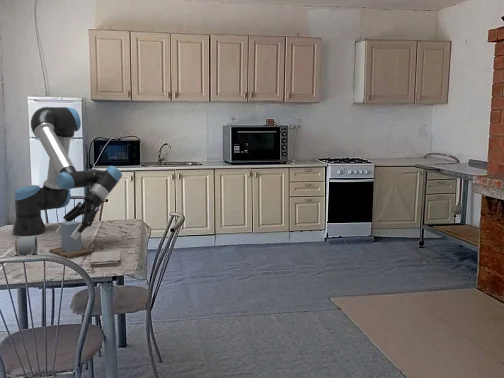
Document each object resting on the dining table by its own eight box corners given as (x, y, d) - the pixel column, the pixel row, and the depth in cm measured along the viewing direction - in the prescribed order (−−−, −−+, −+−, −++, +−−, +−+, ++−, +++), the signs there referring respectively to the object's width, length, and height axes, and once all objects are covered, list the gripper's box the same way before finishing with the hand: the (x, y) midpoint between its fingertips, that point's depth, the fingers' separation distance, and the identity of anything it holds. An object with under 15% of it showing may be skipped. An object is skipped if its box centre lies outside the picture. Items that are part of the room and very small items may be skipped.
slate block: (61, 250, 225) (60, 222, 223) (74, 247, 229) (73, 220, 228) (68, 252, 221) (67, 224, 219) (81, 250, 225) (80, 222, 224)
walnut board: (49, 252, 226) (49, 249, 226) (74, 247, 235) (74, 244, 235) (68, 259, 215) (68, 256, 215) (94, 253, 224) (94, 250, 224)
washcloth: (89, 269, 203) (89, 261, 202) (90, 257, 220) (90, 250, 219) (121, 267, 206) (120, 259, 206) (120, 255, 223) (119, 248, 223)
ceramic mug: (17, 252, 225) (16, 235, 224) (38, 251, 227) (37, 234, 226) (14, 259, 215) (13, 241, 214) (35, 258, 217) (34, 240, 216)
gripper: (117, 204, 226) (86, 245, 216) (87, 198, 242) (57, 236, 232) (106, 193, 221) (74, 235, 212) (76, 188, 237) (45, 226, 228)
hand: (65, 235), depth 222 cm, fingers open, 12 cm apart
